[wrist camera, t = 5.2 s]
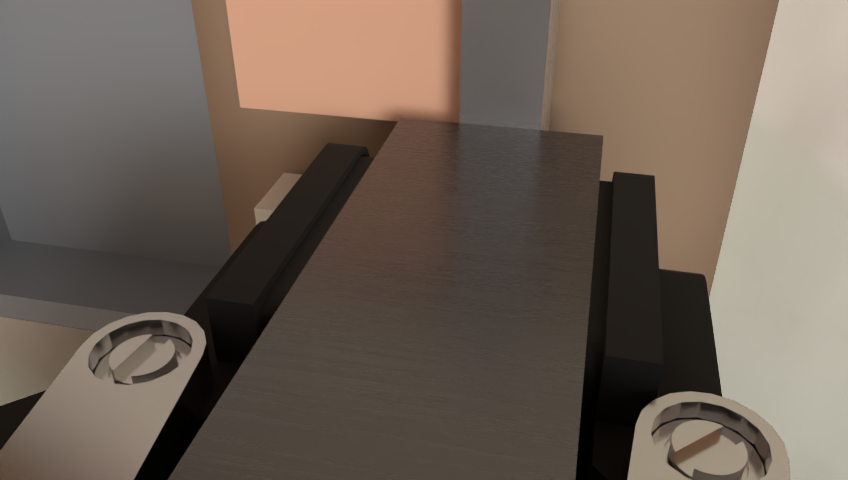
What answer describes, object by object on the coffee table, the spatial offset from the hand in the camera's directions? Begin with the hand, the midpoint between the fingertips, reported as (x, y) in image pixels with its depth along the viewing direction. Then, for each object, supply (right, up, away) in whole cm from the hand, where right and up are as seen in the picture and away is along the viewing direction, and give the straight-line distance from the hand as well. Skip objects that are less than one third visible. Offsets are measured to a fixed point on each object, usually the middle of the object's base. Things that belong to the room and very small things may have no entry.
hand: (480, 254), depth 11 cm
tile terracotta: (-2, +5, +2) cm, 5 cm away
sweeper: (+1, +2, +3) cm, 3 cm away
